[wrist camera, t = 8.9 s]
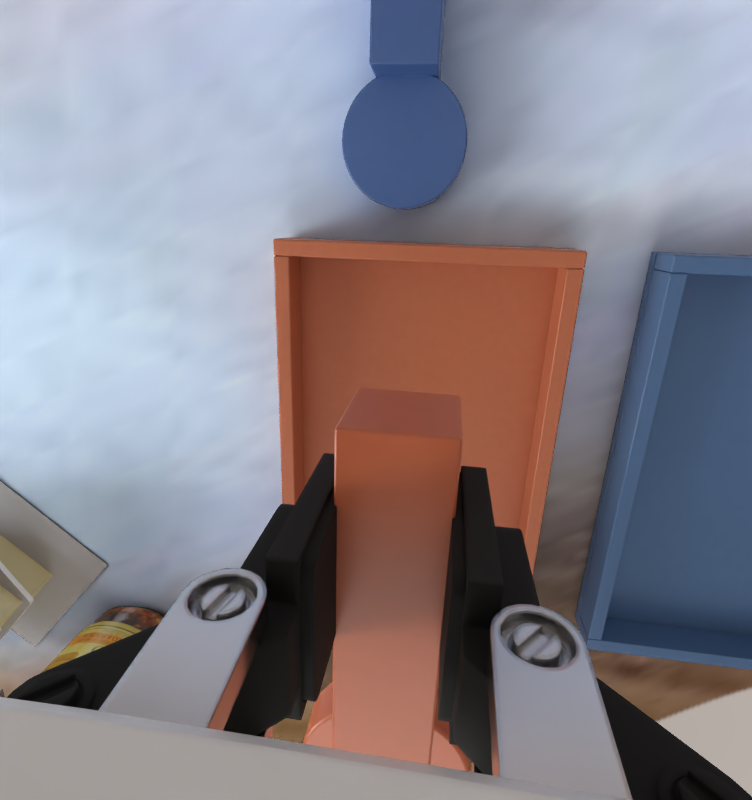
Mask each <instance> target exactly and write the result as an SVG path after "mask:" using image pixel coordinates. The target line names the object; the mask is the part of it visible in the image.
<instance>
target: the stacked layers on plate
mask: <svg viewBox="0 0 752 800" xmlns="http://www.w3.org/2000/svg"><path fill="white" fill-rule="evenodd" d="M106 566H107V564H106V563H104V562H103V561H102V560H100V559H99V558H98V557H97V556H95V555H94V554H93V553H91V552H90V551H89V550H88V549H86V548H85V547H84V546H83V545H81V544H80V543H79V542H77V541H76V540H75V539H74V538H72V537H71V536H70V535H68V534H67V533H66V532H65V531H63V530H62V529H61V528H60V527H58V526H57V525H56V524H54V523H53V522H52V521H51V520H49V519H48V518H47V517H45V516H44V515H43V514H42V513H40V512H39V511H38V510H37V509H35V508H34V507H33V506H31V505H30V504H29V503H28V502H26V501H25V500H24V499H23V498H21V497H20V496H19V495H17V494H16V493H15V492H14V491H12V490H11V489H10V488H8V487H7V486H6V485H5V484H3V483H2V482H1V481H0V640H1V639H2V638H3V637H4V636H5V635H6V634H7V633H8V631H9V630H10V629H11V630H12V631H14V632H15V633H16V634H18V635H19V636H21V637H22V638H23V639H25V640H26V641H27V642H29V643H30V644H31V645H33V646H34V647H35V646H36V645H37V644H38V643H39V642H40V641H41V640H42V639H43V637H44V636H45V635H46V634H47V633H48V632H49V631H50V630H51V628H52V627H53V626H54V625H55V624H56V623H57V622H58V620H59V619H60V618H61V617H62V616H63V615H64V614H65V613H66V611H67V610H68V609H69V608H70V607H71V606H72V605H73V604H74V602H75V601H76V600H77V599H78V598H79V597H80V596H81V595H82V593H83V592H84V591H85V590H86V589H87V588H88V587H89V585H90V584H91V583H92V582H93V581H94V580H95V579H96V578H97V576H98V575H99V574H100V573H101V572H102V571H103V570H104V569H105V567H106Z"/></svg>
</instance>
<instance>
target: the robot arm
mask: <svg viewBox="0 0 752 800" xmlns="http://www.w3.org/2000/svg"><path fill="white" fill-rule="evenodd" d="M336 559H337V506H335V505H334V454H330V453H324V454H323V455H322V457H321V459H320V461H319V462H318V464H317V466H316V468H315V470H314V471H313V473H312V475H311V477H310V478H309V480H308V482H307V484H306V486H305V487H304V489H303V491H302V493H301V494H300V496H299V498H298V500H297V502H296V503H295V505H292V504H281V505H280V506H279V507H278V508H277V510H276V512H275V513H274V515H273V516H272V518H271V520H270V521H269V523H268V525H267V526H266V528H265V529H264V531H263V533H262V534H261V536H260V537H259V539H258V541H257V542H256V544H255V546H254V547H253V549H252V550H251V552H250V554H249V555H248V557H247V559H246V560H245V562H244V563H243V565H242V567H241V568H225V569H220V570H215V571H212V572H209V573H207V574H204V575H202V576H200V577H198V578H197V579H195V580H194V581H192V582H191V583H189V585H188V586H187V587H186V588H185V589H184V590H183V591H182V592H181V594H180V595H179V596H178V598H177V599H176V601H175V602H174V603H173V605H172V606H171V608H170V609H169V611H168V612H167V613H166V615H165V616H164V618H163V619H162V621H161V622H160V623H159V624H158V625H155V626H153V627H150V628H148V629H145V630H143V631H141V632H138V633H136V634H133V635H131V636H128V637H126V638H124V639H121V640H119V641H116V642H114V643H112V644H109V645H107V646H104V647H102V648H99V649H97V650H95V651H92V652H90V653H87V654H85V655H82V656H80V657H78V658H75V659H73V660H70V661H68V662H65V663H63V664H61V665H58V666H56V667H53V668H51V669H49V670H46V671H44V672H42V673H40V674H38V675H36V676H34V677H32V678H31V679H29V680H27V681H26V682H25V683H23V684H22V685H21V686H19V687H18V688H17V689H15V690H14V691H13V692H12V693H11V694H10V695H9V696H8V697H5V696H4V693H3V689H0V800H752V797H751V796H750V795H749V794H748V793H747V792H746V791H745V790H743V788H741V787H740V786H739V785H738V784H737V783H736V782H735V781H733V780H732V779H731V778H730V777H729V776H727V775H726V774H725V773H723V772H722V771H720V770H719V769H718V768H717V767H715V766H714V765H713V764H711V763H710V762H709V761H707V760H706V759H705V758H703V757H702V756H701V755H699V754H698V753H697V752H695V751H694V750H693V749H691V748H690V747H689V746H687V745H686V744H685V743H683V742H682V741H681V740H679V739H678V738H677V737H675V736H674V735H673V734H671V733H670V732H669V731H667V730H666V729H665V728H663V727H662V726H661V725H659V724H658V723H657V722H655V721H654V720H653V719H651V718H650V717H649V716H647V715H646V714H645V713H643V712H642V711H641V710H639V709H638V708H637V707H635V706H634V705H633V704H631V703H630V702H629V701H627V700H626V699H625V698H623V697H622V696H621V695H619V694H618V693H617V692H615V691H614V690H613V689H611V688H610V687H609V686H608V685H606V684H605V683H604V682H602V681H601V680H600V679H598V678H597V677H596V676H595V672H594V669H593V665H592V662H591V659H590V655H589V652H588V649H587V645H586V643H585V641H584V639H583V637H582V635H581V633H580V632H579V631H578V630H577V629H576V627H575V626H574V625H573V624H572V623H571V622H570V621H568V620H567V619H565V618H564V617H563V616H561V615H560V614H558V613H556V612H554V611H551V610H549V609H547V608H544V607H540V606H539V601H538V597H537V593H536V589H535V585H534V580H533V576H532V572H531V568H530V564H529V559H528V555H527V551H526V547H525V543H524V538H523V534H522V531H521V529H518V528H509V527H499V526H495V523H494V517H493V510H492V503H491V497H490V490H489V483H488V477H487V470H486V468H482V467H471V466H461V472H460V474H459V483H458V493H457V503H456V513H455V518H452V527H451V537H450V548H449V558H448V568H447V578H446V588H445V599H444V609H443V619H442V629H441V640H440V655H439V695H438V720H439V721H446V722H449V744H453V745H458V747H459V748H460V749H461V750H462V751H463V752H464V753H465V754H466V755H467V757H468V758H469V759H470V760H471V761H472V766H471V772H469V771H463V770H457V769H451V768H445V767H440V766H434V765H428V764H422V763H416V762H410V761H404V760H398V759H392V758H386V757H380V756H374V755H368V754H362V753H356V752H350V751H344V750H338V749H332V748H326V747H320V746H314V745H308V744H302V743H295V742H289V741H283V740H277V739H272V735H273V729H274V728H273V725H275V724H277V723H278V722H280V721H282V720H283V719H285V718H290V719H296V720H301V719H302V716H303V712H304V709H305V706H306V702H307V700H309V701H316V700H317V698H318V695H319V692H320V689H321V685H322V681H323V678H324V674H325V671H326V667H327V664H328V660H329V657H330V653H331V649H332V646H333V642H334V639H335V635H336Z"/></svg>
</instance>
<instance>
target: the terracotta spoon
mask: <svg viewBox="0 0 752 800" xmlns="http://www.w3.org/2000/svg"><path fill="white" fill-rule="evenodd" d="M462 444H463V437H462V420H461V403H460V396H458V395H450V394H437V393H424V392H411V391H398V390H385V389H372V388H358V390H357V392H356V393H355V395H354V397H353V399H352V400H351V402H350V404H349V405H348V407H347V409H346V411H345V412H344V414H343V416H342V417H341V419H340V421H339V423H338V424H337V426H336V428H335V433H334V505H335V506H337V559H336V635H335V639H334V642H333V682H332V683H330V684H329V685H328V686H327V687H326V688H325V689H324V690H323V691H322V692H321V694H320V695H319V696H318V698H317V700H316V702H315V704H314V707H313V710H312V714H311V717H310V721H309V724H308V728H307V731H306V735H305V738H304V742H303V744H308V745H314V746H320V747H326V748H332V749H338V750H344V751H350V752H356V753H362V754H368V755H374V756H380V757H386V758H392V759H398V760H404V761H410V762H416V763H422V764H428V765H434V766H440V767H445V768H451V769H457V770H463V771H469V772H470V767H469V758H468V757H467V755H466V754H465V753H464V752H463V751H462V750H461V749H460V748H459V747H458V745H453V744H449V722H446V721H439V720H438V695H439V689H438V683H439V655H440V640H441V629H442V619H443V609H444V599H445V588H446V578H447V568H448V558H449V548H450V537H451V527H452V518H455V513H456V503H457V493H458V483H459V474H460V464H461V454H462Z"/></svg>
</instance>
